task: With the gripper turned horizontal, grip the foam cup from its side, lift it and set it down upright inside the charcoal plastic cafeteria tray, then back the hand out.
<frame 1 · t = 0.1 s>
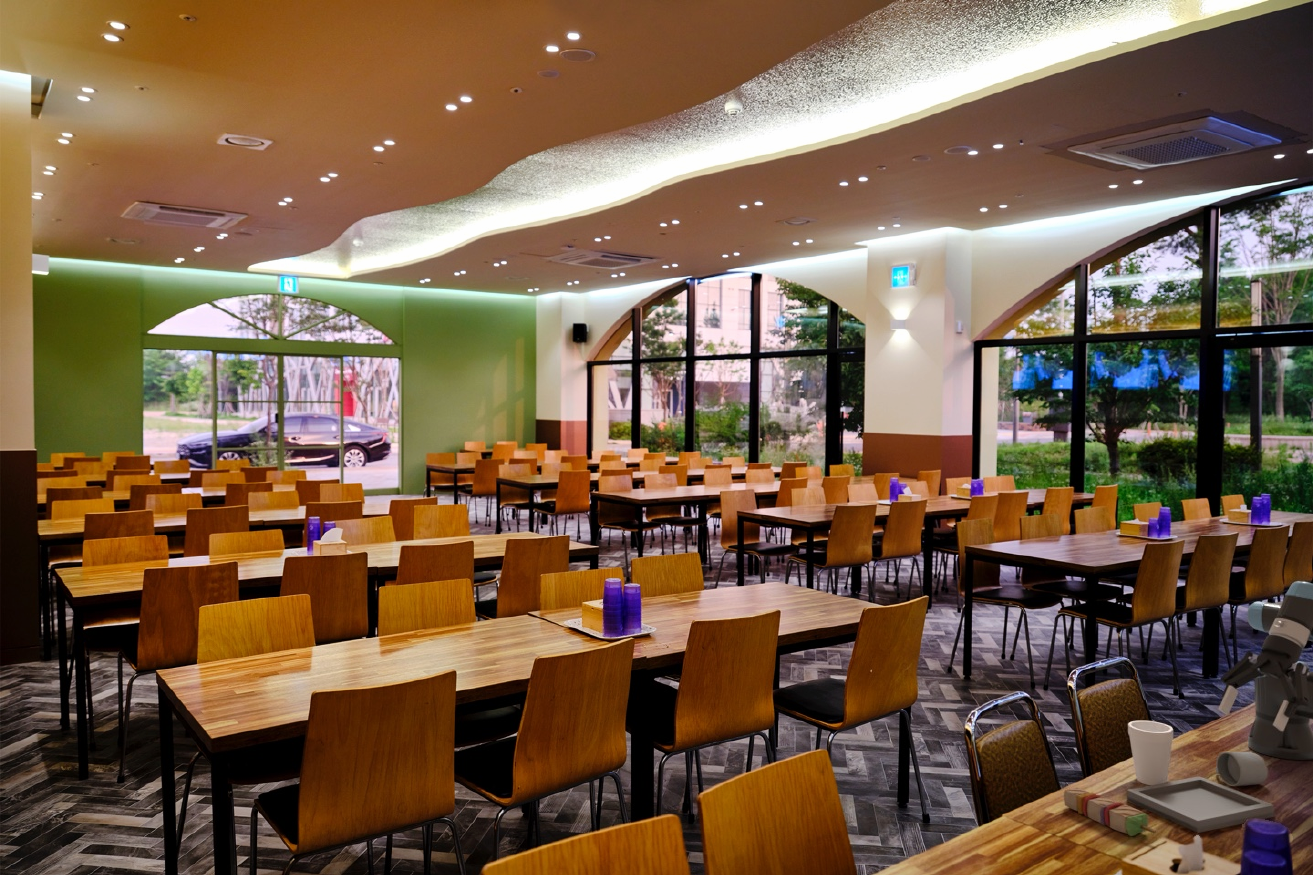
hand: (1249, 719, 213), 15 cm above the table, tool tilted 35°, fingers open, 13 cm apart
ceramic mug: (1237, 782, 215), on the table
cafeteria tray: (1198, 808, 200), on the table
skewer: (1110, 825, 193), on the table
foam cup: (1151, 781, 216), on the table
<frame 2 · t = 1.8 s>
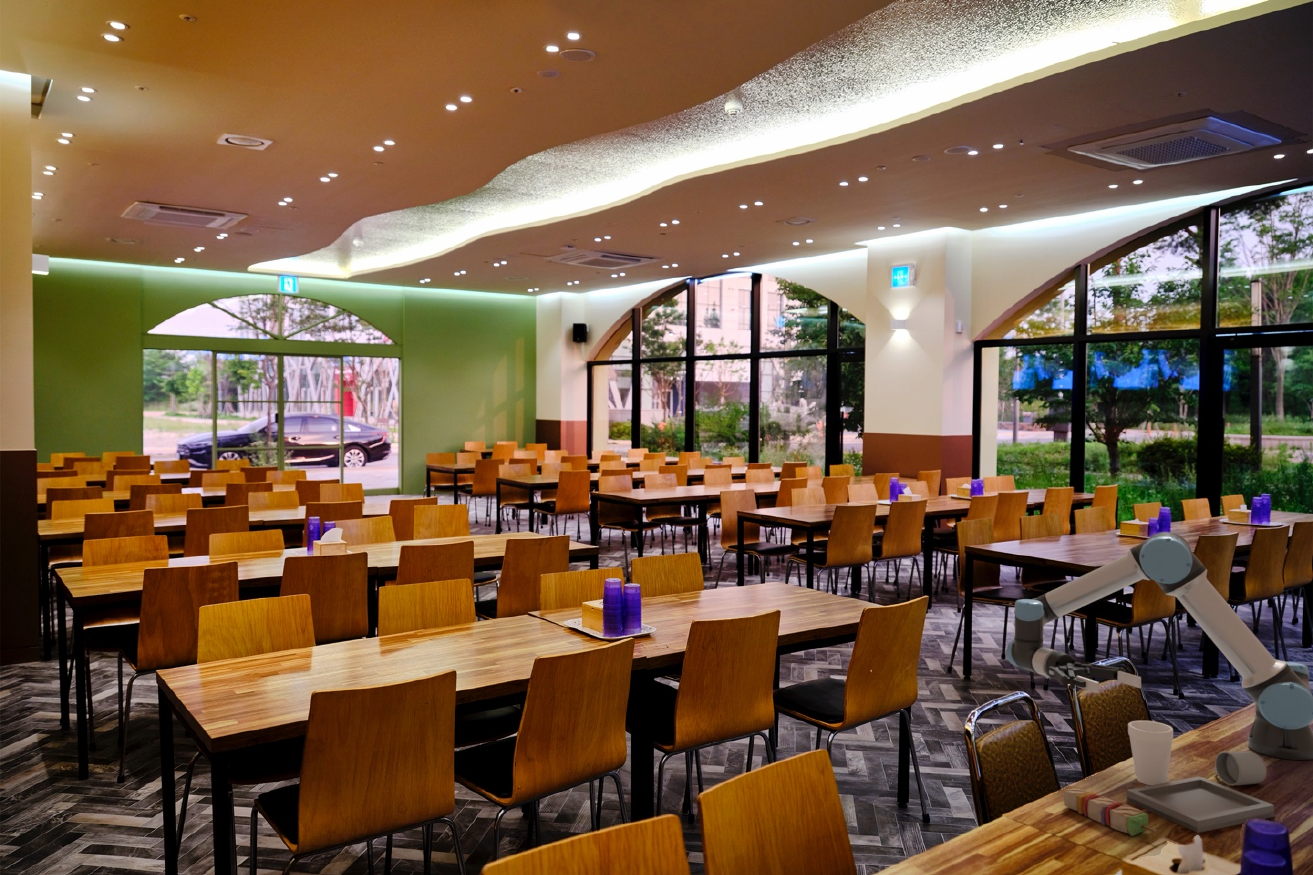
hand: (1119, 685, 225), 21 cm above the table, tool horizontal, fingers open, 13 cm apart
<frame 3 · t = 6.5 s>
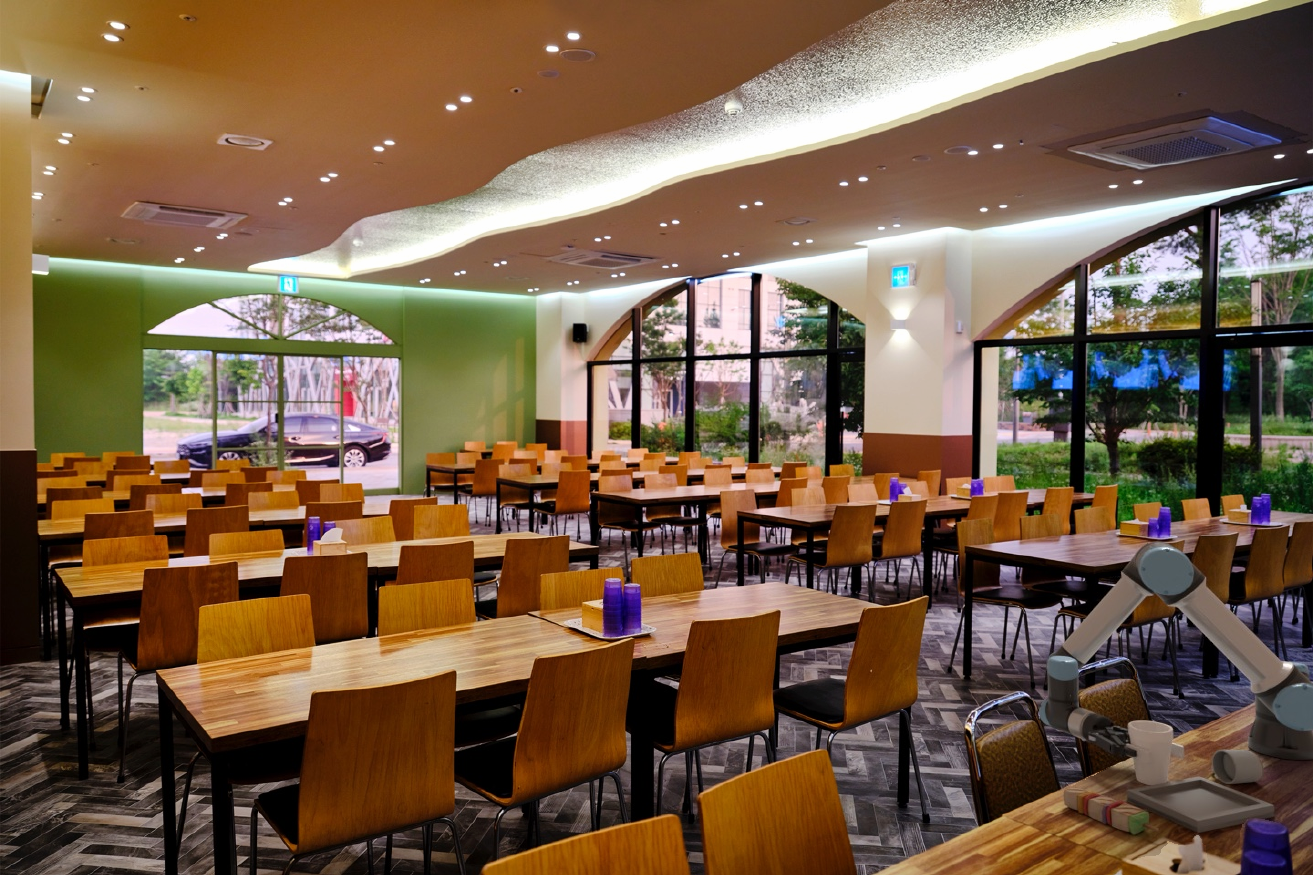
hand: (1166, 755, 212), 8 cm above the table, tool horizontal, fingers closed on foam cup, 9 cm apart
ceramic mug: (1233, 780, 216), on the table
foam cup: (1151, 781, 216), on the table, touching gripper
when the fingers open (10 cm above the table, at t = 12.2 s): foam cup drops 1 cm, resting on cafeteria tray.
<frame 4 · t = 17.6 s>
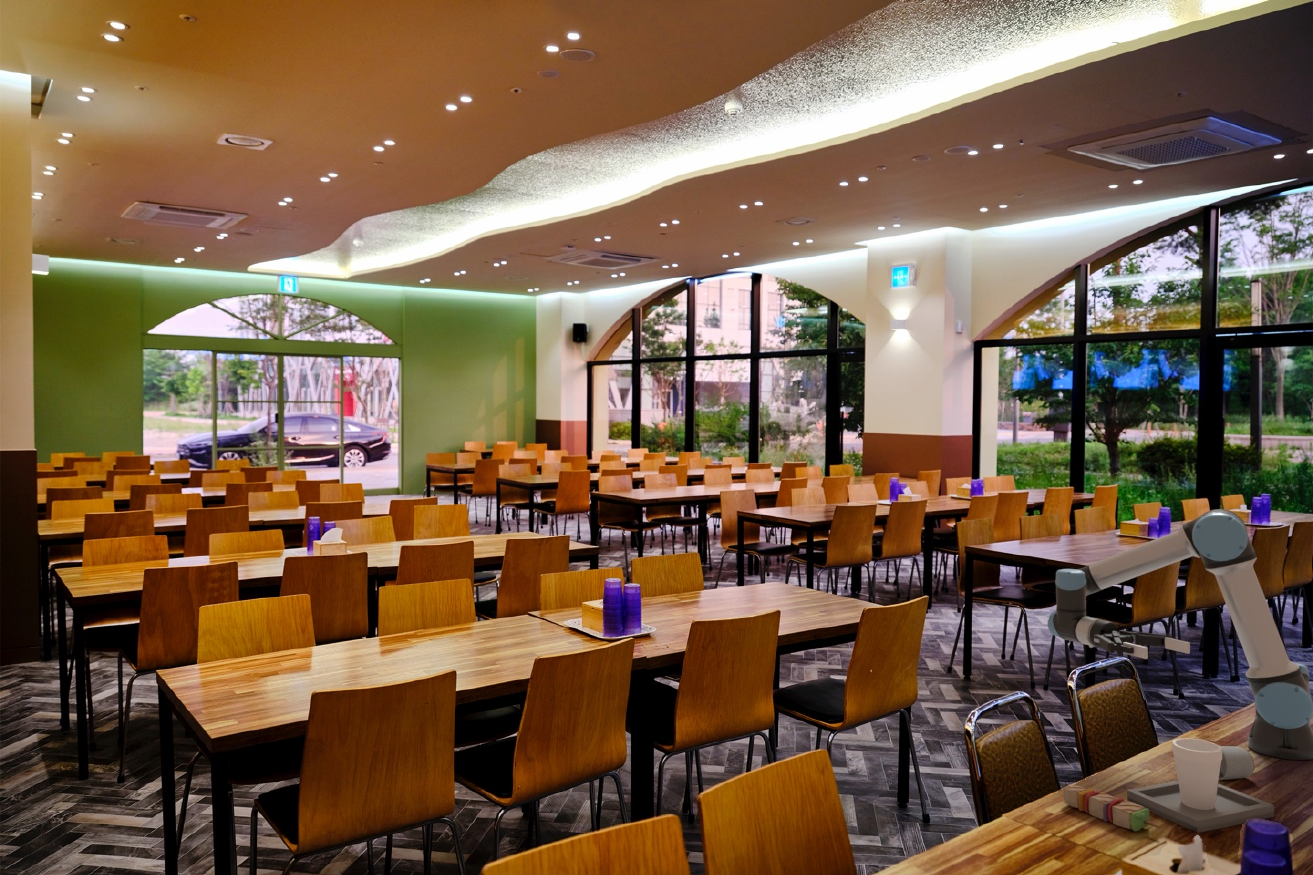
hand: (1168, 650, 221), 30 cm above the table, tool horizontal, fingers open, 13 cm apart
ceramic mug: (1224, 776, 219), on the table
skewer: (1112, 821, 195), on the table
foam cup: (1198, 804, 200), point 1 cm above the table, touching cafeteria tray
at the end: foam cup inside the target area on the cafeteria tray (0.1 cm from its centre), point 0.8 cm above the cafeteria tray's base; foam cup tilted 0°; the gripper is holding nothing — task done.
